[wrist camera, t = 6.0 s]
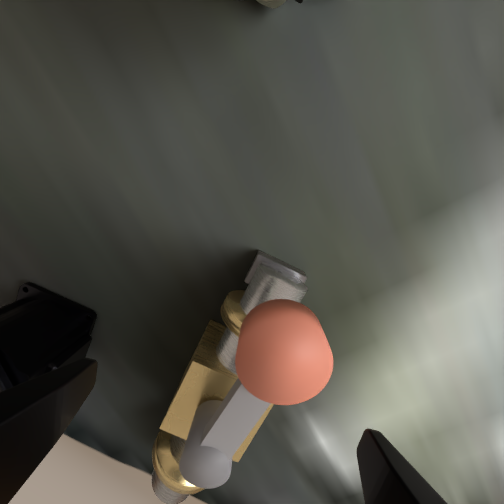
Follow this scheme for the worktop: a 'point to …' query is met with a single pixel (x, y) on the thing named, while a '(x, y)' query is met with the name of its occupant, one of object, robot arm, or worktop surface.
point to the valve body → (217, 371)
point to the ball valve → (273, 2)
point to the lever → (258, 385)
